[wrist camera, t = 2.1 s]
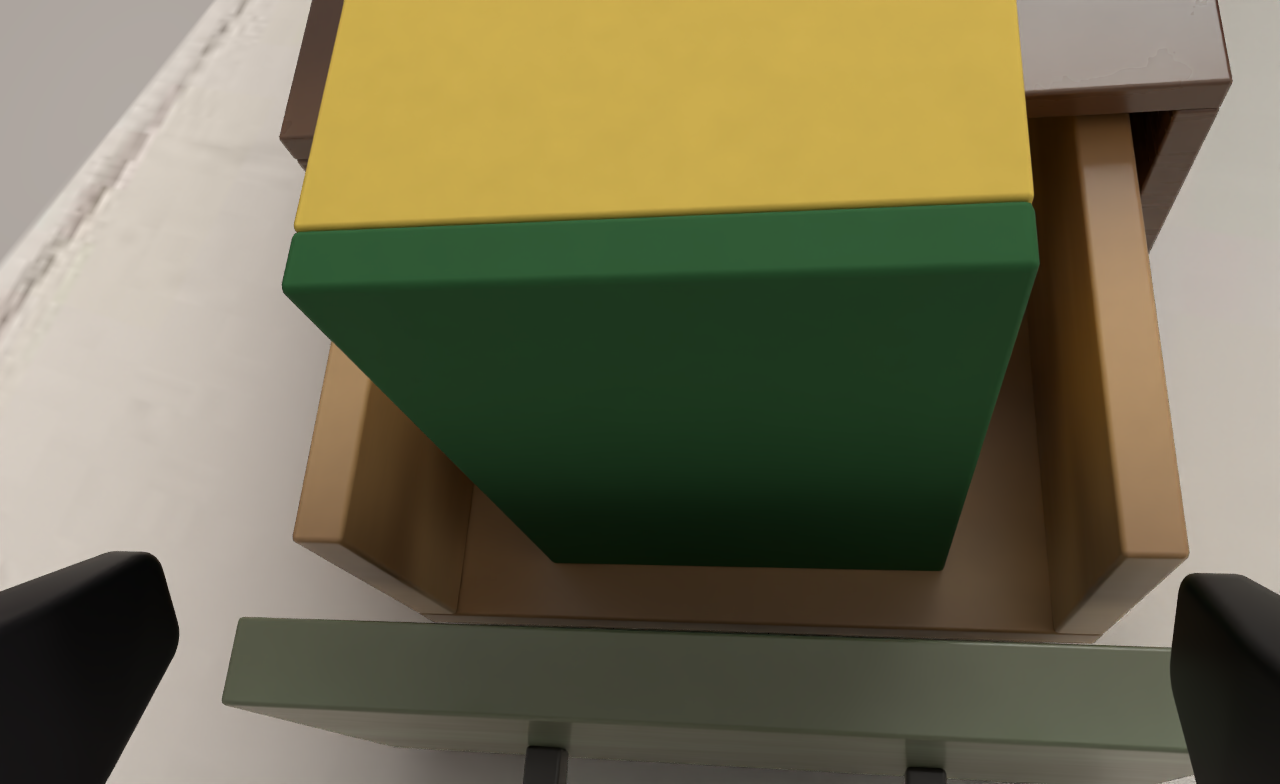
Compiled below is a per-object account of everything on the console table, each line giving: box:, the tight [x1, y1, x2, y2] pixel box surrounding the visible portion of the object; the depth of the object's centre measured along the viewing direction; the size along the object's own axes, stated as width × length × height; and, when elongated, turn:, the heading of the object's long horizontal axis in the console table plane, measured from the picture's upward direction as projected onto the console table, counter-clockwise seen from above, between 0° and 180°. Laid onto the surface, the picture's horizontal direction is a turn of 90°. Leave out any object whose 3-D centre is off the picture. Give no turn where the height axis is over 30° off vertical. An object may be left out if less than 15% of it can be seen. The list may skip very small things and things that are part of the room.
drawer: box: [222, 113, 1194, 784], centre depth 18 cm, size 18×13×6 cm
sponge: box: [282, 0, 1040, 571], centre depth 15 cm, size 4×7×10 cm, turn 86°
